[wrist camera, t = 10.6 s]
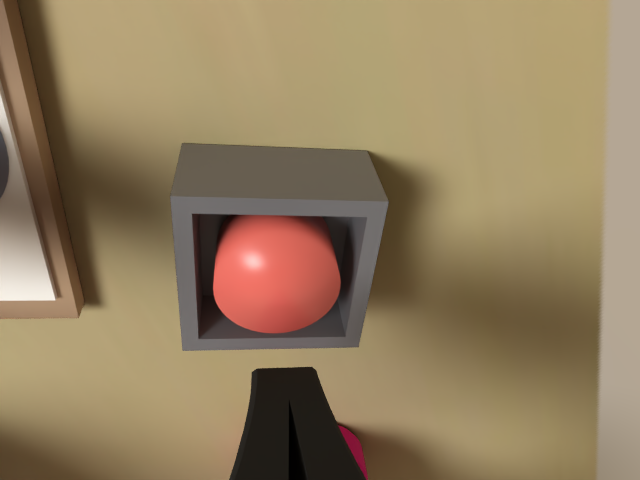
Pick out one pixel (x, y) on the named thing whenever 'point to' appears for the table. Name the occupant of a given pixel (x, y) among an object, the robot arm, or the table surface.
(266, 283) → the button
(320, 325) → the button box
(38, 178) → the clipboard
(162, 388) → the table surface
